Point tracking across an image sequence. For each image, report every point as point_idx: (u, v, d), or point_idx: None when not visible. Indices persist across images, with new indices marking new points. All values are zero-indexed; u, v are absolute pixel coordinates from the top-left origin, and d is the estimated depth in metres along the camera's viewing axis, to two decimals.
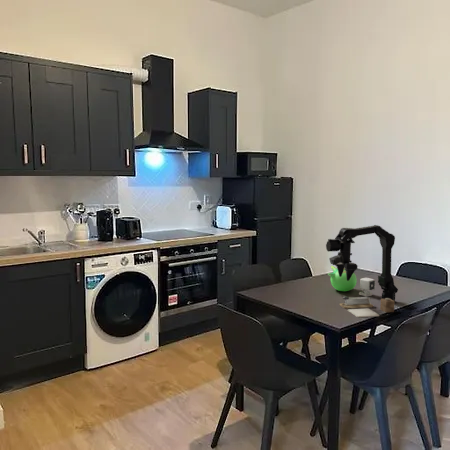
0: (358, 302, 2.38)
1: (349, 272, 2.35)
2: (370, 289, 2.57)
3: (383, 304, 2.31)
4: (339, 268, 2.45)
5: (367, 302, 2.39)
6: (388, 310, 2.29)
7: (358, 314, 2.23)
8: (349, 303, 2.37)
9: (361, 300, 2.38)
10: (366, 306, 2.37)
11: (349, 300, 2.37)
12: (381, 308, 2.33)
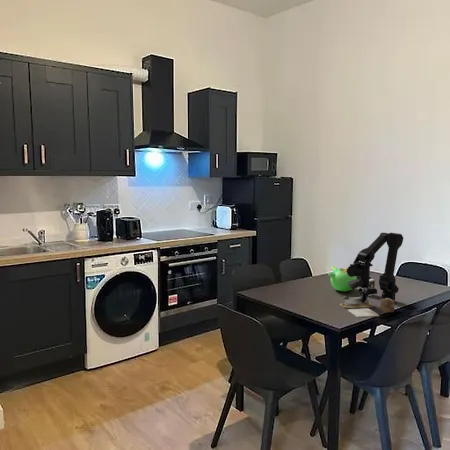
0: (358, 302, 2.38)
1: (364, 294, 2.36)
2: None
3: (383, 304, 2.31)
4: None
5: (367, 301, 2.40)
6: (388, 310, 2.29)
7: (358, 314, 2.23)
8: (349, 303, 2.37)
9: None
10: (366, 306, 2.37)
11: (349, 300, 2.37)
12: (381, 308, 2.33)
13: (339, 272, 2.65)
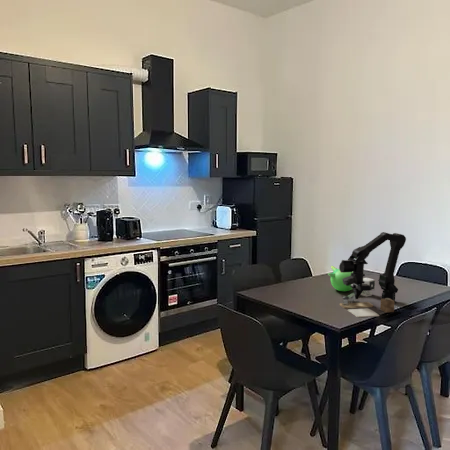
0: (352, 299, 2.43)
1: (358, 291, 2.42)
2: None
3: (383, 304, 2.31)
4: None
5: None
6: (388, 310, 2.29)
7: (358, 314, 2.23)
8: (349, 302, 2.39)
9: (353, 297, 2.44)
10: (366, 306, 2.37)
11: (349, 299, 2.38)
12: (381, 308, 2.33)
13: (339, 272, 2.65)
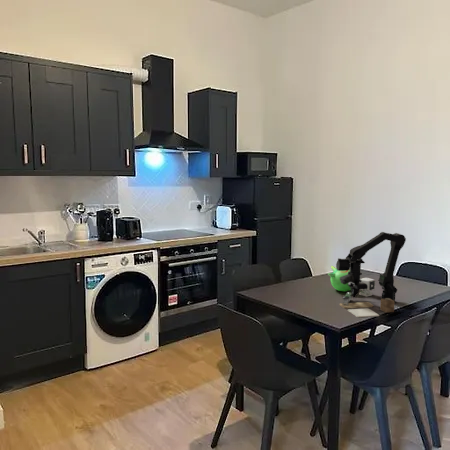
0: (349, 299, 2.44)
1: (355, 289, 2.46)
2: (370, 289, 2.57)
3: (383, 304, 2.31)
4: None
5: None
6: (388, 310, 2.29)
7: (358, 314, 2.23)
8: (348, 302, 2.39)
9: (350, 296, 2.45)
10: (366, 306, 2.37)
11: (348, 299, 2.39)
12: (381, 308, 2.33)
13: (339, 272, 2.65)
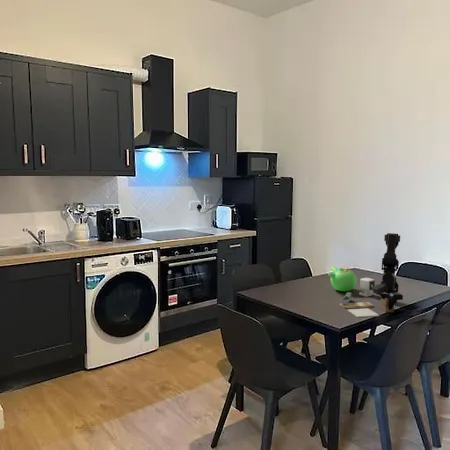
0: (349, 299, 2.44)
1: (391, 301, 2.28)
2: (370, 289, 2.57)
3: (383, 304, 2.31)
4: (383, 298, 2.34)
5: None
6: (388, 310, 2.29)
7: (358, 314, 2.23)
8: (348, 302, 2.39)
9: (350, 296, 2.45)
10: (366, 306, 2.37)
11: (348, 299, 2.39)
12: (381, 308, 2.33)
13: (339, 272, 2.65)
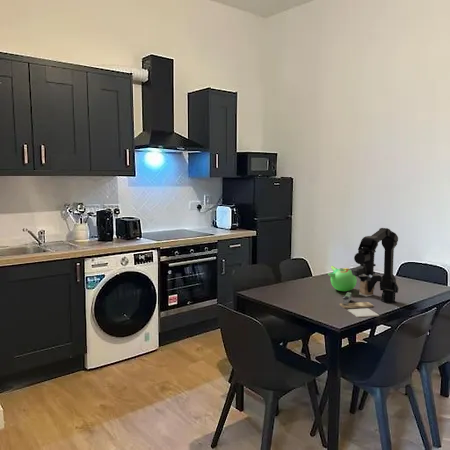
0: (349, 299, 2.44)
1: (371, 283, 2.22)
2: None
3: (362, 287, 2.25)
4: (363, 280, 2.28)
5: None
6: (367, 293, 2.23)
7: (358, 314, 2.23)
8: (348, 302, 2.39)
9: (350, 296, 2.45)
10: (366, 306, 2.37)
11: (348, 299, 2.39)
12: (360, 291, 2.27)
13: (339, 272, 2.65)
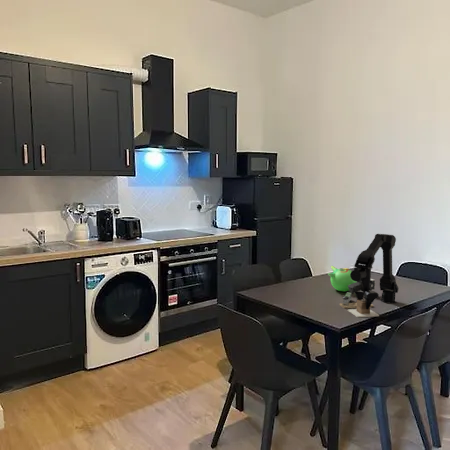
0: (349, 299, 2.44)
1: (369, 300, 2.21)
2: None
3: (359, 305, 2.26)
4: (358, 296, 2.30)
5: None
6: (364, 312, 2.25)
7: (358, 314, 2.23)
8: (348, 302, 2.39)
9: (350, 296, 2.45)
10: None
11: (348, 299, 2.39)
12: (357, 309, 2.28)
13: (339, 272, 2.65)
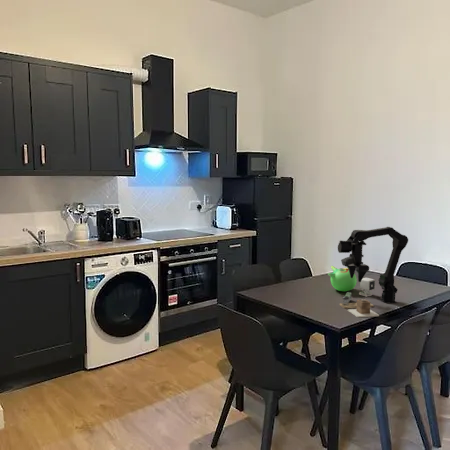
0: (349, 299, 2.44)
1: (361, 273, 2.39)
2: (370, 289, 2.57)
3: (359, 305, 2.26)
4: (350, 269, 2.49)
5: None
6: (364, 312, 2.25)
7: (358, 314, 2.23)
8: (348, 302, 2.39)
9: (350, 296, 2.45)
10: None
11: (348, 299, 2.39)
12: (357, 309, 2.28)
13: (339, 272, 2.65)
